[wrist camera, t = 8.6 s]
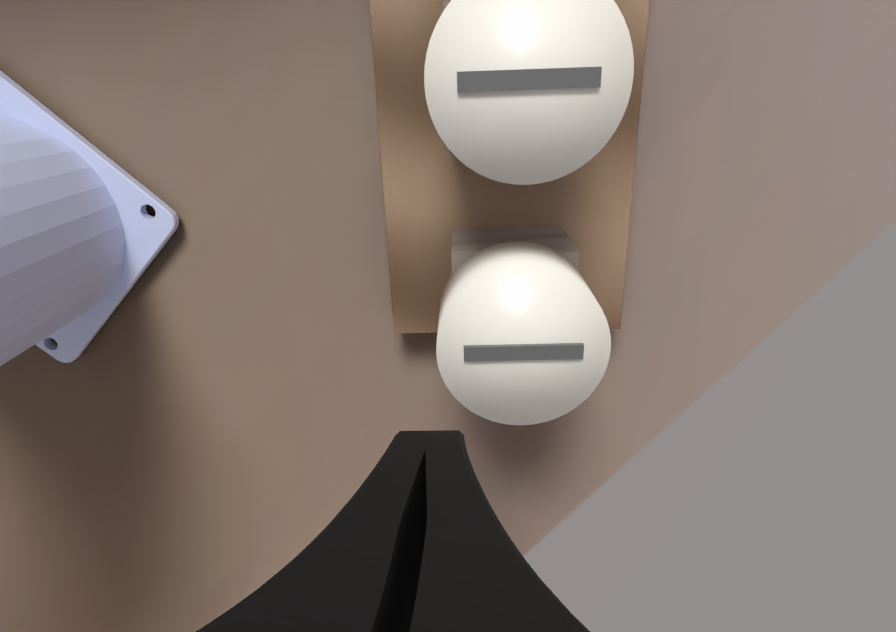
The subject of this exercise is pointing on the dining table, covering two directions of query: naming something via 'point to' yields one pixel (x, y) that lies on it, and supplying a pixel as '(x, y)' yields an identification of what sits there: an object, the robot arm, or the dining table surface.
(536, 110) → the knob middle
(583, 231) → the knob panel
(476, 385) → the knob outer
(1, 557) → the dining table surface
